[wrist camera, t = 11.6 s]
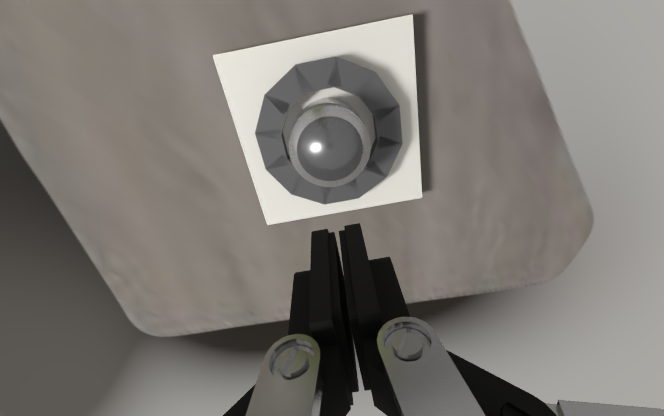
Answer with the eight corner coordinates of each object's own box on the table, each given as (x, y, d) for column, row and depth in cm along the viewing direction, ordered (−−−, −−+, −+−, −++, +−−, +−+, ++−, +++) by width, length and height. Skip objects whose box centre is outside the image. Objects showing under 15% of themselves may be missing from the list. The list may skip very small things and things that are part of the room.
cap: (285, 104, 25) (279, 116, 22) (359, 92, 25) (366, 101, 21) (300, 173, 28) (298, 194, 24) (367, 162, 28) (374, 181, 24)
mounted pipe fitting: (217, 54, 25) (207, 56, 23) (408, 15, 24) (417, 12, 22) (268, 218, 32) (265, 231, 30) (418, 192, 31) (426, 203, 29)
